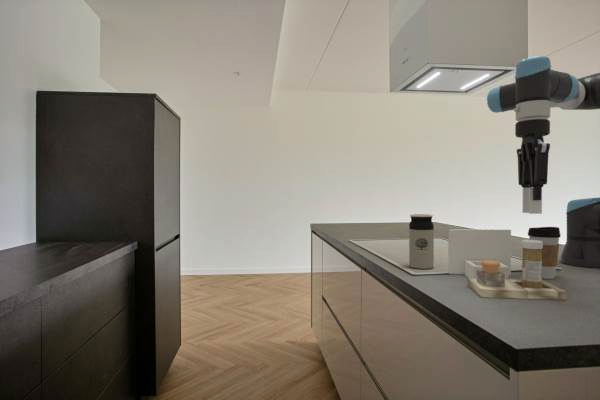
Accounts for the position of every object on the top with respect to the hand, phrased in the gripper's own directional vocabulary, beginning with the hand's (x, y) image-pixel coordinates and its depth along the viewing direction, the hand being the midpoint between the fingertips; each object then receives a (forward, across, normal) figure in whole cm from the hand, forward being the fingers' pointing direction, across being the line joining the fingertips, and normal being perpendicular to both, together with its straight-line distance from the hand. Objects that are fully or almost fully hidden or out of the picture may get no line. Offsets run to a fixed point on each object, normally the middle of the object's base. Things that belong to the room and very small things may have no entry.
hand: (531, 212), depth 98 cm
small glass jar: (+18, 0, -10) cm, 20 cm away
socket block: (+20, 0, -4) cm, 21 cm away
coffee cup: (+21, -20, +12) cm, 31 cm away
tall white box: (+20, -16, -7) cm, 27 cm away
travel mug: (+21, -31, -22) cm, 43 cm away
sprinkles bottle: (+21, 0, 0) cm, 21 cm away
